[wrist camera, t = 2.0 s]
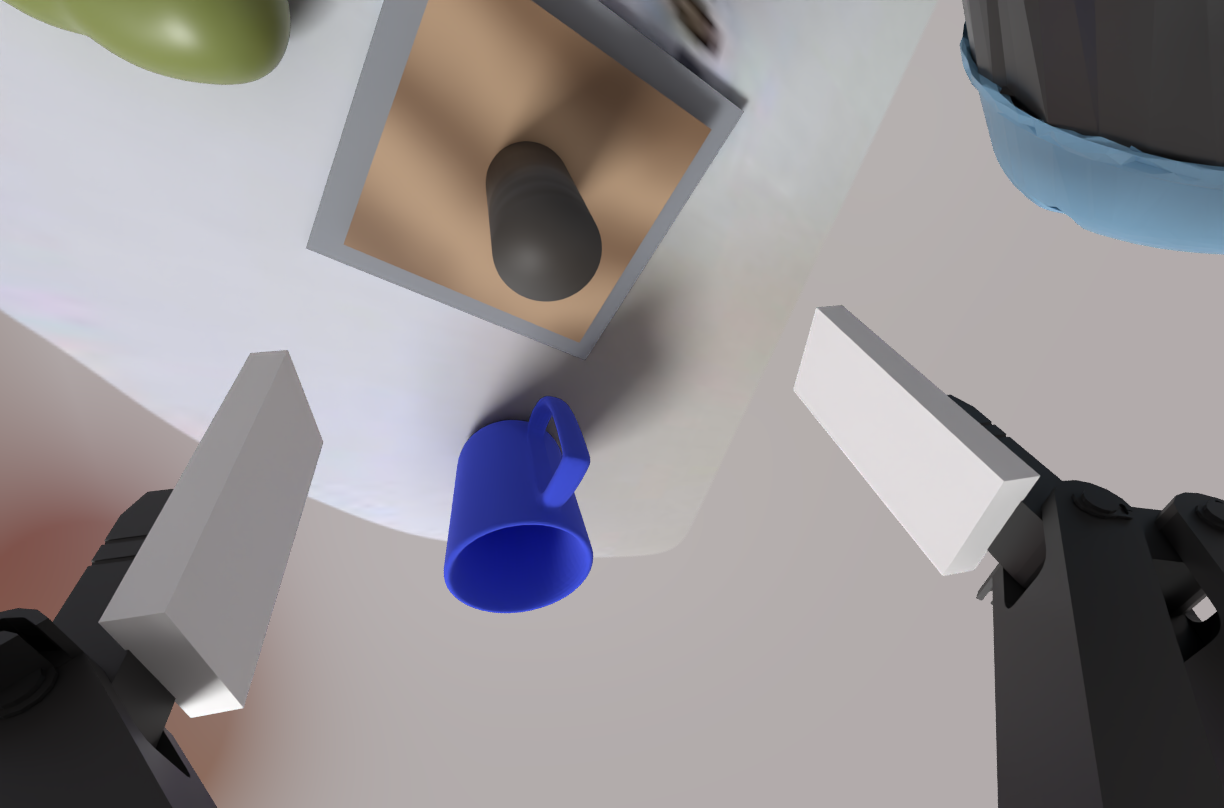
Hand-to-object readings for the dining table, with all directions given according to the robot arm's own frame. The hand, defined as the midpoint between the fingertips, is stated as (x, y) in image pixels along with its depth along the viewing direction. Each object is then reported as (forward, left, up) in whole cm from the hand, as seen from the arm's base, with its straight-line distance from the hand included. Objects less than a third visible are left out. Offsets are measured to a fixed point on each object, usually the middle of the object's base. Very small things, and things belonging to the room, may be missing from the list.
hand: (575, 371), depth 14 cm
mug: (+15, +7, -18) cm, 24 cm away
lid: (0, 0, -17) cm, 17 cm away
